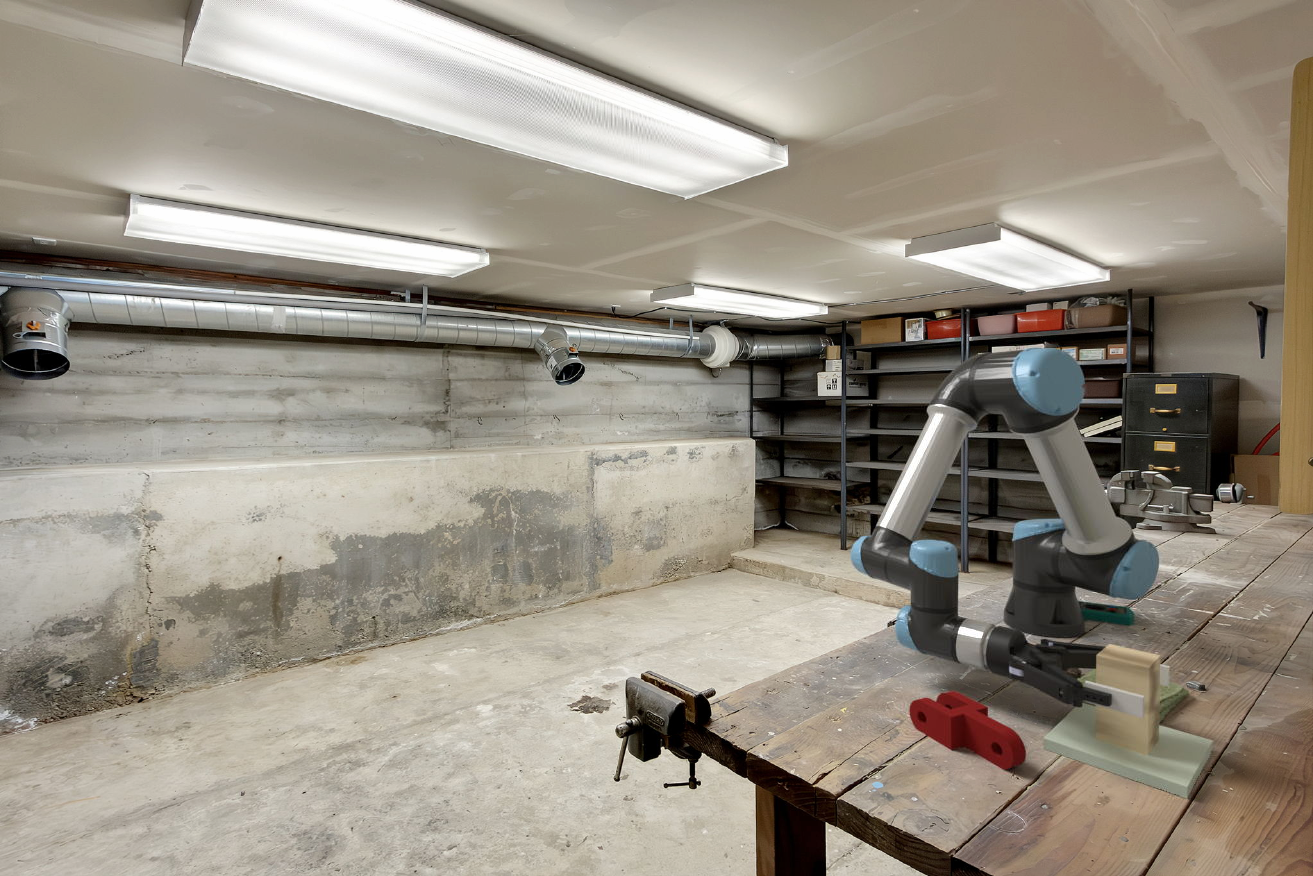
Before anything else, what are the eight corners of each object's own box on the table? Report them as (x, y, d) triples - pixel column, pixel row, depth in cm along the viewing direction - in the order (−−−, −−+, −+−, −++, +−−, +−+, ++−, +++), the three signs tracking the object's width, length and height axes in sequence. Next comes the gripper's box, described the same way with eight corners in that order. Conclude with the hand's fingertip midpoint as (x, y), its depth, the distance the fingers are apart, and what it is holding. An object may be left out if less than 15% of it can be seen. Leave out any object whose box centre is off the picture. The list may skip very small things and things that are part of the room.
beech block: (1108, 724, 95) (1109, 643, 95) (1158, 739, 91) (1160, 655, 90) (1095, 738, 91) (1096, 655, 91) (1147, 755, 87) (1149, 667, 86)
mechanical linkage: (909, 726, 99) (909, 694, 99) (944, 716, 102) (944, 685, 102) (1000, 781, 85) (1000, 743, 84) (1038, 768, 87) (1038, 732, 87)
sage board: (1080, 711, 102) (1080, 702, 102) (1212, 751, 90) (1212, 740, 90) (1043, 748, 92) (1043, 738, 92) (1186, 798, 80) (1187, 787, 80)
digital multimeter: (1134, 629, 139) (1134, 615, 139) (1053, 616, 147) (1053, 604, 147) (1133, 619, 145) (1133, 606, 145) (1055, 608, 153) (1055, 596, 153)
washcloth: (1193, 699, 106) (1193, 679, 106) (1154, 733, 96) (1155, 712, 96) (1101, 673, 117) (1101, 655, 117) (1058, 702, 107) (1058, 682, 106)
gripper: (1023, 650, 112) (1177, 689, 96) (958, 695, 96) (1130, 751, 80) (1023, 608, 112) (1178, 640, 96) (958, 646, 96) (1131, 692, 80)
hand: (1157, 691), depth 88 cm, fingers open, 13 cm apart
